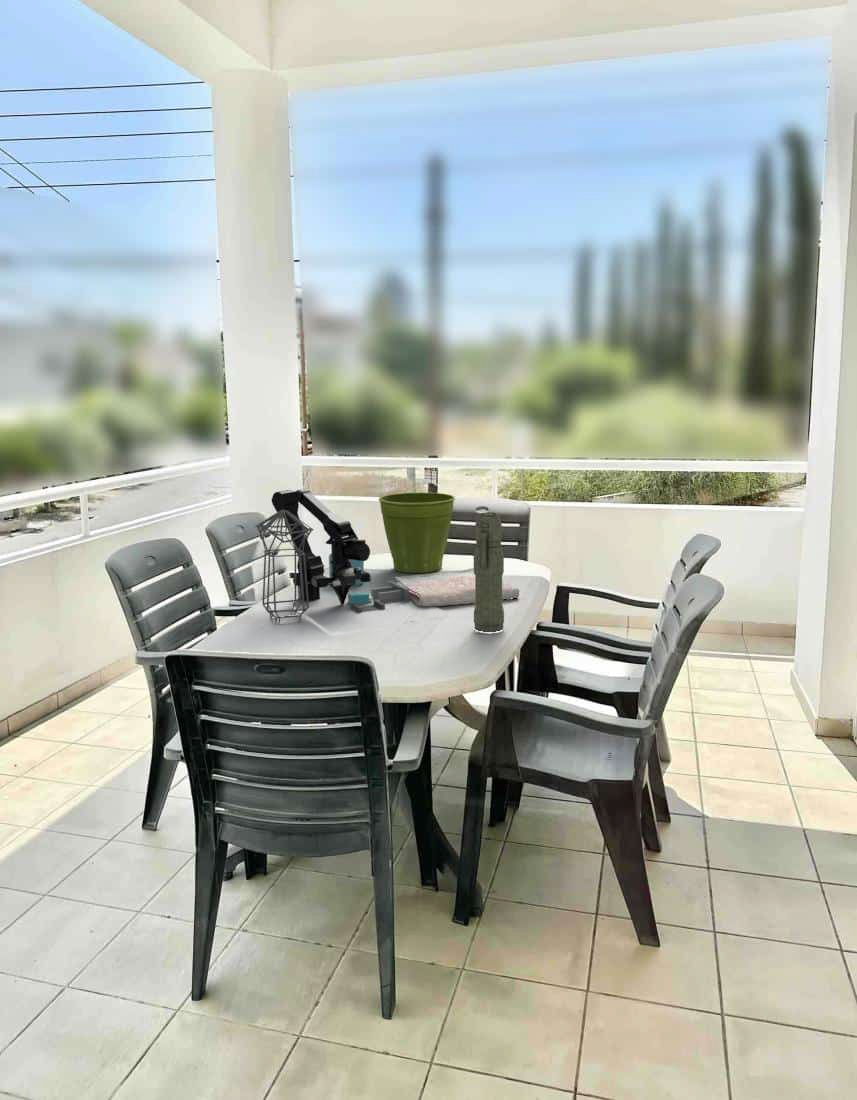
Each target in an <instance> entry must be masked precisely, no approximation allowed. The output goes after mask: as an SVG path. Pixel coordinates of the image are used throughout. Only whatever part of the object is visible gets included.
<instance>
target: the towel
mask: <svg viewBox="0 0 857 1100" xmlns="http://www.w3.org/2000/svg"><path fill="white" fill-rule="evenodd" d="M394 579H395V581H394V582H395V583H397V584H399V585H401V586H403V587H405V588H407V589H409V600H411V601H413V602H414V603H415V604H416V605H417V606H420V607H425V608H426V607H447V606H446V605H450V606H460V605H459V604H464V605H470V604H469V603H473V604H476V603H475V574H474V567H471V568H467V569H461V570H445V571H438V572H437V571H436V572H434V573H433V572H431V573H422V574H414V575H403V576H395V577H394ZM511 598H517V599H519V598H520V589H519V588H518V587H515V585H513V584H511V583H508V582H506V581H504V580H502V599H509V600H512V599H511Z"/></svg>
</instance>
